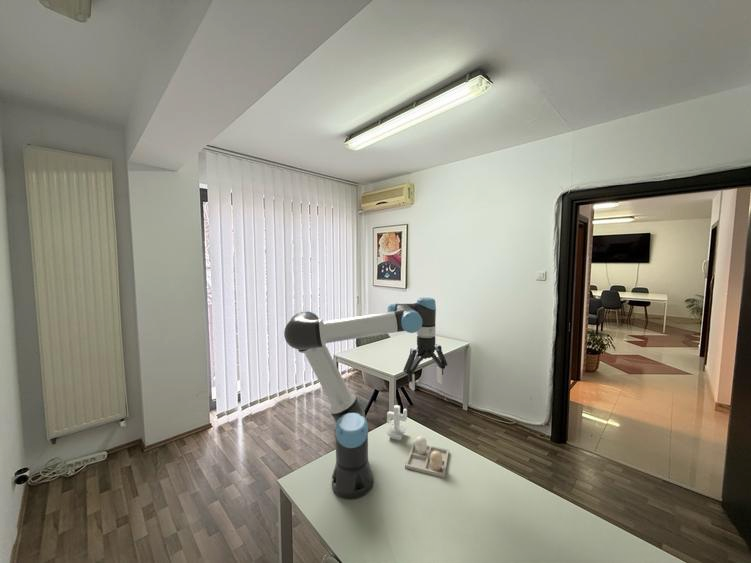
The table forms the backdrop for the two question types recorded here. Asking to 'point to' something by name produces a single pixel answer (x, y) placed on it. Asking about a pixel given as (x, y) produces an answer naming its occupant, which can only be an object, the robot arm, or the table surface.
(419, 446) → the resting egg
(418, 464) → the divided tray
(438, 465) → the egg
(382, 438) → the table surface
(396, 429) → the figurine
